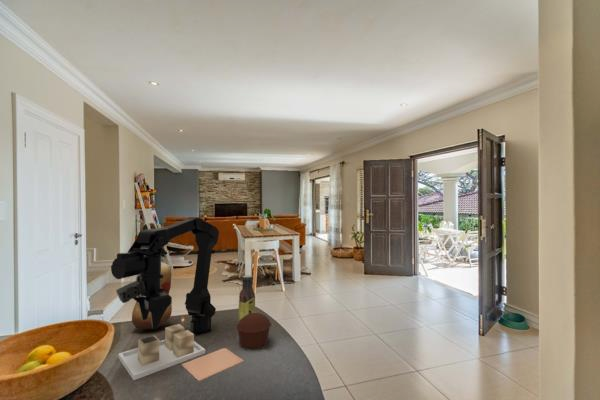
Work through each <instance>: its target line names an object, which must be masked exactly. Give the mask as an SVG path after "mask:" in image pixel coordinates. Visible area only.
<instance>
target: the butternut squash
mask: <svg viewBox="0 0 600 400" xmlns="http://www.w3.org/2000/svg"><path fill="white" fill-rule="evenodd" d="M171 268H172V267H170V265H169V264H167V263H164V262H162V261H161V274H163V278H161V287H162V288H163V292H165V293H166V294H168V295H170V290H171V287H172V269H171ZM139 275H140V274H139ZM163 292H159V293H163ZM172 307H173V305H172V304H171V305H169V307H167V309H166V311H165V313H164V315H163V316H162V318H161V321H160V323H159V325H158V327H157V328H155V329H153V328H152V323H151V316H150V311H149V314H148V317H147V319H146V320H143V319H142V316H141V312H140V308H139V304H138V302H137V301H135V303H134V306H133V309H132V312H131V322H132V325H134V327H135V328H136V329H138V330H140V331H149V330H150V331H151V330H152V331H153V330H154V331H155V330H157V329H159V328H160V327H162V326H163V325H164V324H165V323H167V321H168V320H169V319H170V318H171V317H172V312H173V308H172Z"/></svg>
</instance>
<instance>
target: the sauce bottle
mask: <svg viewBox="0 0 600 400" xmlns="http://www.w3.org/2000/svg"><path fill="white" fill-rule="evenodd" d="M241 277H242V278H241V280H242V289H241V290H240V292H239V296H238V297H239V298H238V322H239V321H240V320H241V319H242V318H243V317H244V316H246V315H248V314H251V313H256V294H255V291H254V287H253V279H254V277H253V275H249V274H248V275H242V276H241ZM238 322H237V323H238Z"/></svg>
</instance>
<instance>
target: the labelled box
mask: <svg viewBox="0 0 600 400" xmlns="http://www.w3.org/2000/svg"><path fill="white" fill-rule="evenodd" d="M160 341H161V340H160V339H159V338H158V337H157V335H155V334H154V335H151V336H147V337H144V338H143V337H142V338H140V339H138V341H137V342H138V343H137V344H138V345H137V348H138V361H139V362H140V364H141V365H142V366H144V365H147V364H150V363H153V362H156V361H159V343H160Z"/></svg>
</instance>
